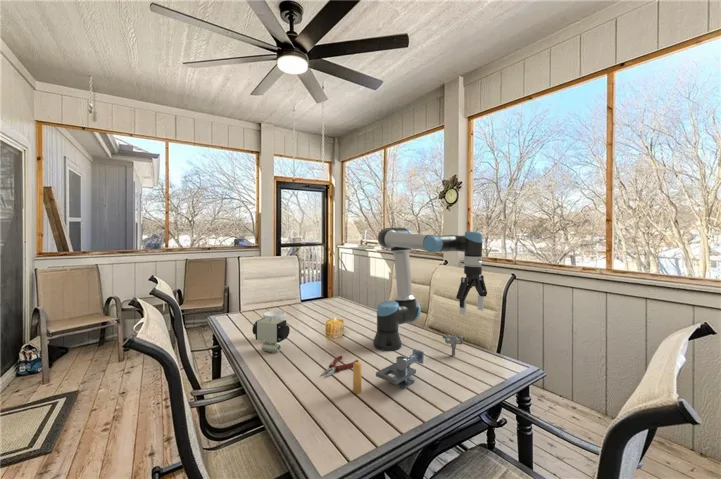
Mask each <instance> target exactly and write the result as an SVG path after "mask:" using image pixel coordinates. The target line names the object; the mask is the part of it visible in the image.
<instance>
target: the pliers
mask: <svg viewBox="0 0 721 479" xmlns="http://www.w3.org/2000/svg"><path fill="white" fill-rule="evenodd" d="M342 360H343V355H338V356H337V357H336V358H334V360H333V362H332V364H330V365H329V366H328V369H326V370H325V371H324V372H322V373H321V374H320V376H321V377H323V376H325V375H326V376H325V378H328V377H330V376H331V375H333V374H335V373H336V372H337V373H340V372H341V371H345V370H350V369H353V363H354V362H360V360H358V359H356V360H354V361H352V362H348V363H344V364H340V365H337V363H339V362H340V361H342Z"/></svg>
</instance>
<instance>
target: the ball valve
mask: <svg viewBox="0 0 721 479" xmlns="http://www.w3.org/2000/svg"><path fill="white" fill-rule="evenodd" d="M290 330H291V329H290V325H288V323H287V319H284V320H280V319H272V317H270V318H264V317H263V318H260V319H258V320H256V321H255V322H254V323H253V326H252V333H253V335H254V337H255V341H262V343H261V350H262V351H264V352H269V353H279V352H280V351H281V348H282V347H281V344H280V343H281V342H283V341H285V340H286V339H287V338H288V337H289V335H290V332H291V331H290Z"/></svg>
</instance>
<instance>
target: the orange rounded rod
mask: <svg viewBox="0 0 721 479" xmlns="http://www.w3.org/2000/svg"><path fill="white" fill-rule="evenodd" d="M353 362H354V361H353ZM362 364H363V363H362V362H360V361H359V362H354V363H353V368H352V371H353V372H352V374H353V376H352V380H353V383H352V387H353V388H352V393H353V394H357V395H358V394H359V395H360V394H361V393H362Z"/></svg>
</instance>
